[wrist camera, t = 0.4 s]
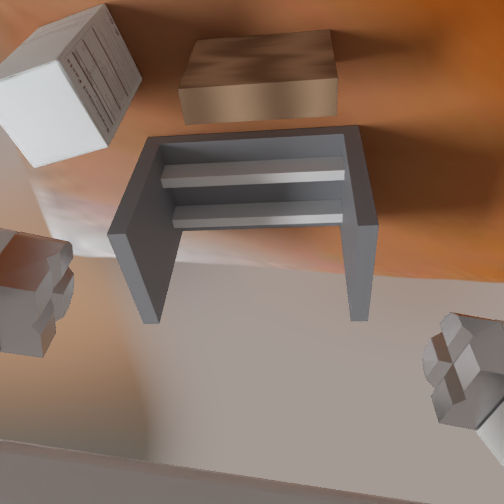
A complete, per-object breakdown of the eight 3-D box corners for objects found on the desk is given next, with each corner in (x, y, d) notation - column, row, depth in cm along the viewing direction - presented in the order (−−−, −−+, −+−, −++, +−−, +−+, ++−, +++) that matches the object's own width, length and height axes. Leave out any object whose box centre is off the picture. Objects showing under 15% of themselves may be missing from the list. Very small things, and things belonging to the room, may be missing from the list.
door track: (171, 223, 59) (143, 323, 47) (147, 137, 50) (106, 234, 39) (352, 216, 56) (367, 321, 45) (358, 125, 48) (378, 225, 37)
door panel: (202, 72, 45) (185, 124, 38) (196, 39, 43) (177, 89, 36) (329, 63, 44) (336, 115, 37) (329, 29, 42) (337, 78, 35)
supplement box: (80, 99, 48) (31, 171, 39) (36, 25, 43) (-32, 87, 34) (145, 80, 46) (110, 150, 37) (107, 0, 41) (55, 58, 32)
